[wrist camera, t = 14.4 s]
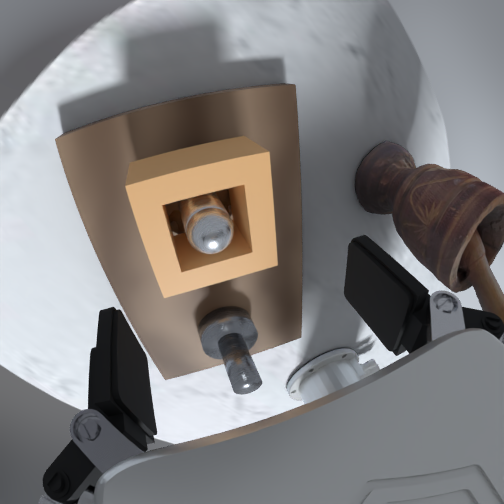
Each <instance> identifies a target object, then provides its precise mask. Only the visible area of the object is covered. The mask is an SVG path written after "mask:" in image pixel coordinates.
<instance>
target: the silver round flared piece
mask: <svg viewBox="0 0 504 504" xmlns="http://www.w3.org/2000/svg"><path fill="white" fill-rule="evenodd" d="M165 206H166V210H167V214H168V217H169V221H170V225H171V228H172V231H173V232H175V233H177V234H182V233H186V236H187V239H188V241H189V243H190V244H191V246H192V247H193V248H194V249H196V250H197V251H199V252H201V253H204V254H215V253H219V252H221V251H222V250H224V249H225V248H226V247H227V246H228V245H229V244H230V242H231V240H232V238H233V234H234V225H233V222H232V219H231V215H232V210H231V203H230V197H229V190H228V189H223V190H219V191H215V192H211V193H207V194H203V195H199V196H195V197H191V198H187V199H183V200H180V201H176V202H172V203H169V204H165Z"/></svg>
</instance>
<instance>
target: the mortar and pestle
mask: <svg viewBox="0 0 504 504" xmlns="http://www.w3.org/2000/svg"><path fill="white" fill-rule="evenodd" d="M355 190H356V193H357V197H358V200H359V202H360V204H361V206H362V207H363V208H364V209H365V210H366V211H367V212H371V213H376V214H392V216H393V221H394V225H395V228H396V231H397V232H398V234H399V236H400V237H401V238H402V239H403V241H404V243H405V245H406V246H407V247H408V248H409V250H410V251H411V252H412V254H413V255H414V256H415V257H416V259H417V260H418V261H419V262H420V263H421V264H423V265H424V266H425V267H426V268H427V269H428V270H430V271H431V272H432V273H433V274H434V276H435V277H436V278H437V279H438V280H439V281H441V282H442V283H443V284H444V285H445V286H446V287H448V288H449V289H450V290H451V291H453V292H455V293H457V292H459V291H464V290H466V289H468V288H470V287H471V286H473V287H474V289H475V292H476V295H477V297H478V299H479V303H480V305H481V307H482V310H483V311H486V312H491V313H494V314H496V315H497V316H499V317H500V318H501V320H502V321H503V323H504V294H503V292H502V290H501V288H500V286H499V284H498V283H497V280H496V279H495V277H494V275H493V273H492V271H491V269H490V265H491V264H492V262H493V261H494V259H495V257H496V255H497V253H498V252H499V251H500V249H501V247H502V245H503V243H504V193H503V192H501V191H499V190H498V189H496V188H494V187H493V186H491V185H489V184H487V183H485V182H482V181H481V180H480V179H479V178H477V177H475V176H473V175H471V174H469V173H467V172H465V171H462V170H458V169H445V168H443V167H440V166H439V165H436V164H426V165H422V166H420V167H417V168H416V166H415V163H414V160H413V157H412V155H411V154H410V153H409V152H408V151H407V150H406V149H404V148H403V147H402V146H400V145H398V144H395V143H392V142H388V141H385V142H384V143H382V144H379V145H378V146H377V147H375V148H374V149H373V150H372V151H371V152H370V153H369V154H368V155H367V156H366V157H365V158H364V159H363V161H362V163H361V165H360V167H359V168H358V170H357V174H356V180H355Z"/></svg>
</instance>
